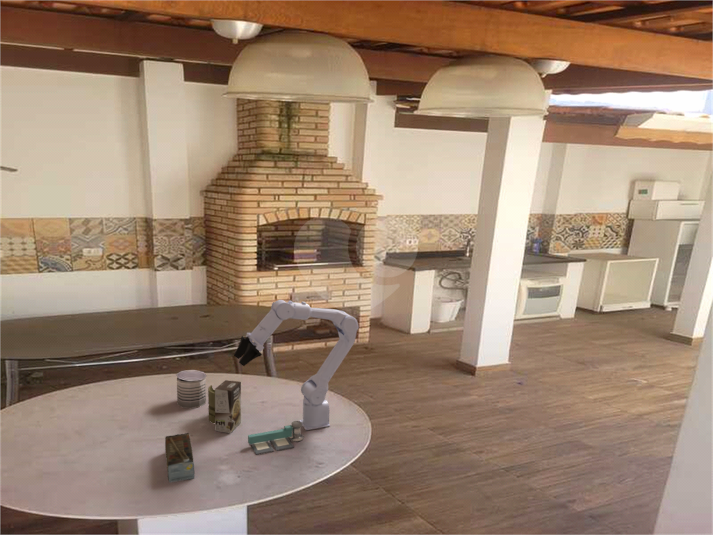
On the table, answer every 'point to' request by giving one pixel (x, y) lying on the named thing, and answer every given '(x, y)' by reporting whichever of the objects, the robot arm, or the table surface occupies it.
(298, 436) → the pivot post
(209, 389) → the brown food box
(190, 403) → the can
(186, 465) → the beverage carton
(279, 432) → the bar
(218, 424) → the coffee box
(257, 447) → the label tile
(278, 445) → the label tile
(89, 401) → the table surface
